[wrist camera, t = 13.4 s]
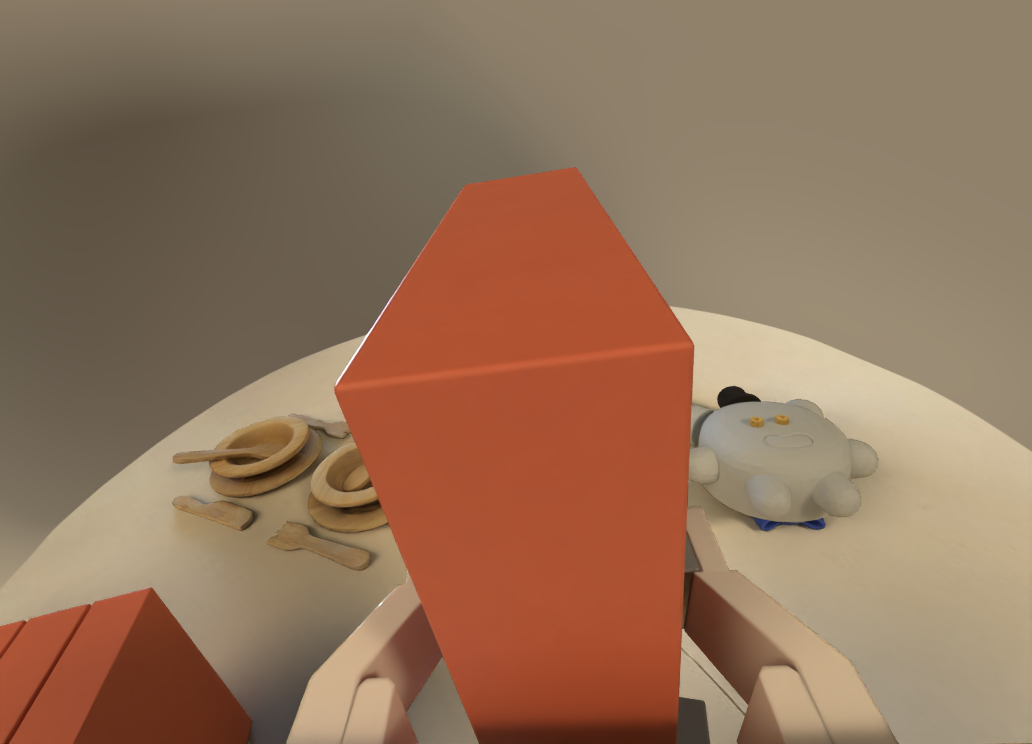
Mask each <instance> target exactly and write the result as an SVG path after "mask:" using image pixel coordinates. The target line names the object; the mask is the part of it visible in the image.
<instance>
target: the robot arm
mask: <svg viewBox="0 0 1032 744" xmlns="http://www.w3.org/2000/svg"><path fill="white" fill-rule="evenodd" d="M682 629H685V632H686V633H687V634H688V636H689V637H690V638H691V639H692V640H693V641H694V643H695V644H696V645H697V646H698V647H699V648H700V650H701V651H702V652H703V653H704V654H705V655H706V656H707V658H708V659H709V660H710V661H711V662H712V663H713V665H714V666H715V667H716V668H717V669H718V670H719V672H720V673H721V674H722V675H723V676H724V677H725V679H726V680H727V681H728V682H729V683H730V684H731V686H732V687H733V688H734V689H735V690H736V691H737V692H738V694H739V695H740V696H741V697H742V698H743V699H744V701H745V702H746V703H747V704H748V705H749V706H748V709H747V712H746V715H745V718H744V721H743V724H742V727H741V730H740V733H739V736H738V739H737V743H738V744H899V743H898V742H897V740H896V738H895V736H894V735H893V733H892V731H891V729H890V728H889V726H888V724H887V723H886V721H885V719H884V717H883V716H882V714H881V712H880V710H879V709H878V707H877V705H876V703H875V702H874V700H873V698H872V696H871V695H870V693H869V691H868V689H867V688H866V686H865V684H864V682H863V681H862V679H861V677H860V676H859V674H858V672H857V670H856V669H855V667H854V665H853V663H852V662H851V661H850V660H849V659H848V658H846V657H845V656H844V655H843V654H841V653H840V652H839V651H838V650H836V649H835V648H834V647H833V646H831V645H830V644H829V643H828V642H826V641H825V640H824V639H823V638H821V637H820V636H819V635H817V634H816V633H815V632H814V631H812V630H811V629H810V628H809V627H807V626H806V625H805V624H804V623H802V622H801V621H800V620H799V619H797V618H796V617H795V616H794V615H792V614H791V613H790V612H789V611H787V610H786V609H785V608H784V607H782V606H781V605H780V604H779V603H777V602H776V601H775V600H774V599H772V598H771V597H770V596H769V595H767V594H766V593H765V592H764V591H762V590H761V589H760V588H759V587H757V586H756V585H755V584H754V583H752V582H751V581H750V580H749V579H747V578H746V577H745V576H744V575H742V574H741V573H740V572H739V571H737V570H729V568H728V565H727V563H726V561H725V559H724V556H723V554H722V552H721V549H720V547H719V545H718V542H717V540H716V538H715V536H714V533H713V531H712V529H711V526H710V524H709V522H708V520H707V517H706V515H705V513H704V510H703V509H702V508H701V507H700V506H690V507H687V524H686V547H685V570H684V593H683V616H682ZM442 656H443V655H442V652H441V650H440V647H439V645H438V643H437V640H436V638H435V635H434V633H433V630H432V628H431V626H430V623H429V621H428V618H427V616H426V613H425V611H424V609H423V606H422V604H421V601H420V599H419V596H418V594H417V592H416V589H415V587H414V584H413V582H412V579H411V577H410V575H409V572H408V573H407V577H406V581H405V584H399V585H397V586H396V587H395V588H394V589H393V590H392V591H391V593H390V594H389V595H388V596H387V597H386V598H385V599H384V600H383V601H382V602H381V603H380V604H379V605H378V606H377V607H376V608H375V609H374V611H373V612H372V613H371V614H370V615H369V616H368V617H367V618H366V619H365V620H364V621H363V622H362V623H361V624H360V625H359V626H358V627H357V629H356V630H355V631H354V632H353V633H352V634H351V635H350V636H349V637H348V638H347V639H346V640H345V641H344V642H343V643H342V644H341V646H340V647H339V648H338V649H337V650H336V651H335V652H334V653H333V654H332V655H331V656H330V657H329V658H328V659H327V660H326V661H325V662H324V664H323V665H322V666H321V667H320V668H319V669H318V670H317V671H316V672H315V673H314V674H313V675H312V676H311V677H310V680H309V682H308V685H307V688H306V691H305V693H304V696H303V699H302V701H301V704H300V707H299V709H298V712H297V715H296V718H295V720H294V723H293V726H292V728H291V731H290V734H289V736H288V739H287V742H286V744H418V741H417V739H416V736H415V734H414V731H413V729H412V726H411V724H410V721H409V719H408V716H407V714H406V712H407V710H408V709H409V707H410V706H411V704H412V702H413V701H414V699H415V698H416V696H417V695H418V693H419V692H420V690H421V689H422V687H423V685H424V684H425V682H426V681H427V679H428V678H429V676H430V675H431V673H432V672H433V670H434V668H435V667H436V665H437V664H438V662H439V661H440V659H441V658H442ZM1000 744H1032V743H1000Z"/></svg>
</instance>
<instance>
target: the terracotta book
mask: <svg viewBox="0 0 1032 744" xmlns="http://www.w3.org/2000/svg"><path fill="white" fill-rule="evenodd" d="M693 364H694V344H693V342H692V340H691V339H690V337H689V336H688V334H687V333H686V331H685V330H684V328H683V327H682V325H681V324H680V322H679V321H678V319H677V318H676V316H675V315H674V313H673V312H672V310H671V309H670V307H669V306H668V304H667V303H666V301H665V300H664V298H663V297H662V296H661V294H660V292H659V291H658V289H657V288H656V286H655V285H654V283H653V282H652V280H651V279H650V277H649V276H648V274H647V273H646V271H645V270H644V268H643V267H642V265H641V264H640V262H639V261H638V259H637V258H636V256H635V255H634V253H633V252H632V250H631V249H630V247H629V246H628V244H627V243H626V241H625V240H624V238H623V237H622V235H621V234H620V232H619V231H618V229H617V228H616V226H615V225H614V223H613V222H612V220H611V219H610V217H609V216H608V214H607V213H606V211H605V210H604V208H603V207H602V205H601V204H600V202H599V201H598V199H597V198H596V196H595V195H594V193H593V192H592V191H591V189H590V187H589V186H588V184H587V183H586V181H585V180H584V178H583V177H582V175H581V174H580V172H579V171H578V169H577V168H575V167H574V168H567V169H561V170H555V171H549V172H543V173H536V174H531V175H525V176H517V177H511V178H505V179H499V180H493V181H486V182H480V183H473V184H467V185H465V186H464V187H463V189H462V190H461V192H460V193H459V195H458V196H457V198H456V200H455V201H454V202H453V204H452V206H451V207H450V209H449V210H448V212H447V213H446V215H445V216H444V218H443V219H442V221H441V223H440V224H439V226H438V227H437V229H436V230H435V232H434V233H433V235H432V236H431V238H430V240H429V241H428V243H427V244H426V246H425V247H424V249H423V250H422V252H421V253H420V255H419V256H418V258H417V259H416V261H415V262H414V264H413V266H412V267H411V268H410V270H409V272H408V273H407V275H406V276H405V278H404V279H403V281H402V283H401V284H400V285H399V287H398V289H397V290H396V292H395V293H394V295H393V296H392V298H391V299H390V301H389V302H388V304H387V305H386V307H385V308H384V310H383V311H382V313H381V315H380V316H379V318H378V319H377V321H376V322H375V324H374V325H373V327H372V328H371V330H370V332H369V333H368V334H367V336H366V338H365V339H364V341H363V342H362V344H361V345H360V347H359V348H358V350H357V351H356V353H355V354H354V356H353V358H352V359H351V361H350V362H349V364H348V365H347V367H346V368H345V370H344V371H343V373H342V374H341V376H340V377H339V379H338V381H337V382H336V384H335V388H334V391H335V395H336V397H337V400H338V402H339V405H340V407H341V409H342V412H343V414H344V417H345V419H346V422H347V424H348V426H349V429H350V431H351V434H352V436H353V439H354V441H355V443H356V446H357V448H358V451H359V453H360V456H361V458H362V460H363V463H364V465H365V468H366V470H367V473H368V475H369V477H370V480H371V482H372V485H373V487H374V490H375V492H376V494H377V497H378V499H379V502H380V504H381V507H382V509H383V511H384V514H385V516H386V519H387V521H388V524H389V526H390V528H391V531H392V533H393V536H394V538H395V541H396V543H397V545H398V548H399V550H400V553H401V555H402V558H403V560H404V562H405V565H406V567H407V570H408V572H409V575H410V577H411V579H412V582H413V584H414V587H415V589H416V592H417V594H418V596H419V599H420V601H421V604H422V606H423V609H424V611H425V613H426V616H427V618H428V621H429V623H430V626H431V628H432V630H433V633H434V635H435V638H436V640H437V643H438V645H439V647H440V650H441V652H442V655H443V657H444V660H445V662H446V664H447V667H448V669H449V672H450V674H451V677H452V679H453V681H454V684H455V686H456V689H457V691H458V694H459V696H460V698H461V701H462V703H463V706H464V708H465V711H466V713H467V715H468V718H469V720H470V723H471V725H472V728H473V730H474V732H475V735H476V737H477V740H478V742H479V744H677V731H678V708H679V685H680V662H681V639H682V616H683V593H684V570H685V547H686V524H687V502H688V479H689V456H690V433H691V410H692V387H693Z"/></svg>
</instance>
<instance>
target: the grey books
mask: <svg viewBox="0 0 1032 744" xmlns="http://www.w3.org/2000/svg"><path fill="white" fill-rule="evenodd" d="M677 744H710V739H709V731H708V722H707V714H706V706H705V702H704V701H702V700H696V699H689V698H683V697H679V708H678V731H677Z"/></svg>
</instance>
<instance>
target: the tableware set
mask: <svg viewBox="0 0 1032 744" xmlns="http://www.w3.org/2000/svg"><path fill="white" fill-rule="evenodd" d="M310 428H314V429H320V430H324V431H326V433H327V435H328V436H331V437H336V438H344V437H346V436H347V434H346V433H350V432H351V431H350V429H349V426H348V424H347V422H342V421H341V422H335V423H326V422H323V421H320V420H316V419H312V418H309V417H305V416H301V415H297V414H290V415H288V416H281V417H274V418H268V419H264V420H261V421H258V422H255V423H253V424H250V425H248V426H245V427H243V428H241V429H239V430H237V431H235V432H234V433H232V434H231V435H229V436H228V437H226V438H225V439H224V440H223V441H221V442H220V443H219V444H218V445H217V447H216V448H215V449H214V450H210V451H193V452H181V453H177V454H175V455H174V456H173V462H174V463H177V464H185V463H195V462H204V461H209V465H210V468H211V469H212V472H211V475H210V484H211V486H212V488H213V489H214V490H215V491H216V492H217V493H219V494H222V495H225V496H229V497H245V496H252V495H257V494H260V493H264V492H267V491H269V490H272V489H274V488H277V487H279V486H281V485H283V484H285V483H287V482H289V481H290V480H292V479H294V478H295V477H297V476H298V475H300V474H301V473H302V472H304V471H305V470H306V469H307V468H308V467H309V466H310V465H311V464H312V463H313V462H314V461H315V460H316V458H317V457H318V455H319V453H320V451H321V447H322V441H321V438H320V436H319V434H318V433H317V432H316V431H315V430H313V429H310ZM310 488H311V493H310V495H309V500H308V507H309V512H310V514H311V516H312V518H313V519H314V521H315V522H316V523H317V524H319V525H320V526H322V527H324V528H326V529H329V530H331V531H336V532H360V531H365V530H369V529H373V528H376V527H379V526H382V525H384V524H386V523H388V521H387V519H386V516H385V514H384V511H383V509H382V507H381V504H380V502H379V499H378V497H377V494H376V492H375V490H374V487H373V485H372V482H371V480H370V477H369V475H368V473H367V470H366V468H365V465H364V463H363V460H362V458H361V456H360V453H359V451H358V448H357V446H356V443H355V441H354V442H351V443H349V444H346V445H344V446H343V447H341V448H339V449H337V450H336V451H334V452H333V453H331V454H330V455H329V456H328V457H326V458H325V459H324V460H323V461H322V462H321V464H320V465H319V466H318V467H317V469H316V470H315V472H314V474H313V476H312V479H311V483H310ZM172 503H173V505H174V507H176V508H178V509H181V510H183V511H186V512H189V513H192V514H195V515H198V516H201V517H204V518H207V519H210V520H213V521H216V522H218V523H221V524H224V525H226V526H229V527H232V528H234V529H237V530H240V531H242V530H243V529H245V528H246V527H247V526H248V525H249V524H250V523H251V522H252V520H253V513H252V512H251V511H250V510H248V509H246V508H243V507H240V506H237V505H234V504H231V503H228V502H226V501H217V502H214V503H212V504H209V505H205V504H203V503H201V502H199V501H197V500H195V499H192V498H190V497H188V496H179V497H177V498H175V499H174V500H173V502H172ZM282 528H283V529H284V530H278V531H277V532H276V533H275V535H276V537H271V538H270V539H269V540H268V541H267V544H268V545H270V546H273V547H276V548H279V549H282V550H286V551H290V550H295V549H299V548H304V549H308V550H310V551H312V552H315V553H317V554H320V555H322V556H324V557H327V558H329V559H332V560H334V561H336V562H338V563H341V564H343V565H345V566H347V567H350V568H352V569H355V570H362V569H364V568H366V567H367V566H368V565H369V563H370V561H371V558H370V554H369V553H368V552H367V551H365V550H361V549H358V548H354V547H350V546H346V545H343V544H338V543H335V542H332V541H328V540H324V539H321V538H317V537H314V536H311V535H310V534H309V531H308V528H307V527H305V526H302V525H299V524H296V523H292V522H288V521H287V522H286V523H285V524H284V525H283V526H282Z"/></svg>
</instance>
